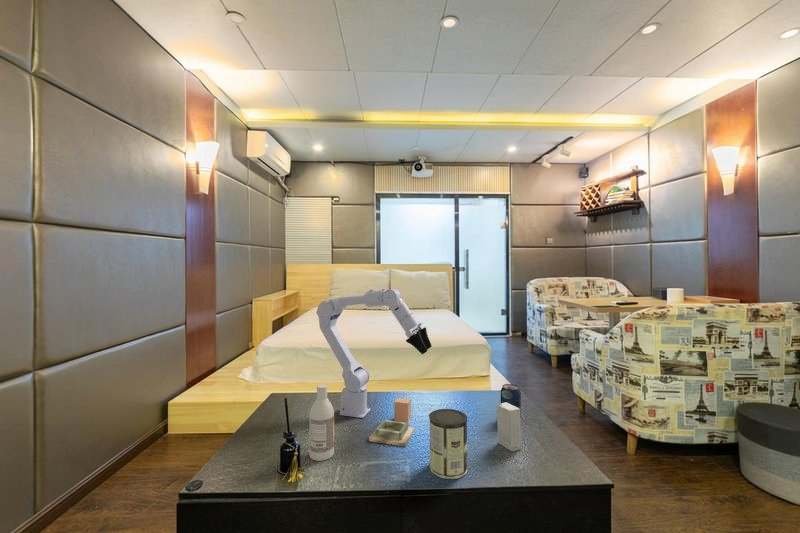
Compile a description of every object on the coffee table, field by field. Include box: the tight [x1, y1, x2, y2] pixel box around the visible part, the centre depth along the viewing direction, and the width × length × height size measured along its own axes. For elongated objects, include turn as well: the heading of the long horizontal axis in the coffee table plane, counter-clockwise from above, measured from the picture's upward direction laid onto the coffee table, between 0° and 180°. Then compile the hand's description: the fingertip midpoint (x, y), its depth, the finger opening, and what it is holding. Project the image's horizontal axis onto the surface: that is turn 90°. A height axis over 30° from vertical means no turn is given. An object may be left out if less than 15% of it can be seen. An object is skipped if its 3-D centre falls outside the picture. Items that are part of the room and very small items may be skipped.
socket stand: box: [368, 419, 416, 447], centre depth 111 cm, size 12×11×3 cm
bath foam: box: [308, 384, 335, 462], centre depth 100 cm, size 7×7×20 cm
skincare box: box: [496, 402, 522, 452], centre depth 105 cm, size 6×4×12 cm
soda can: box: [500, 383, 522, 420], centre depth 123 cm, size 7×7×12 cm
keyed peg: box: [393, 397, 412, 424], centre depth 123 cm, size 5×4×7 cm
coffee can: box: [428, 408, 468, 480], centre depth 93 cm, size 10×10×14 cm
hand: (427, 350), depth 121 cm, fingers open, 7 cm apart
